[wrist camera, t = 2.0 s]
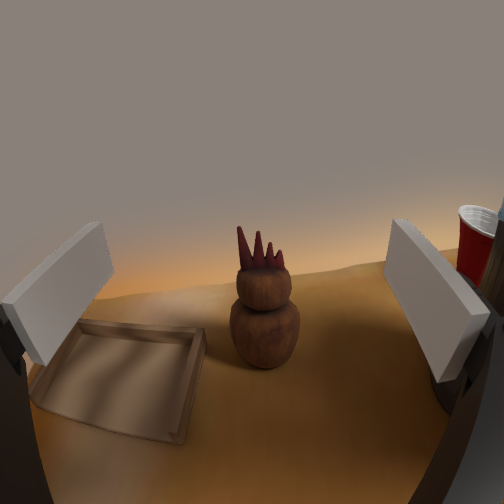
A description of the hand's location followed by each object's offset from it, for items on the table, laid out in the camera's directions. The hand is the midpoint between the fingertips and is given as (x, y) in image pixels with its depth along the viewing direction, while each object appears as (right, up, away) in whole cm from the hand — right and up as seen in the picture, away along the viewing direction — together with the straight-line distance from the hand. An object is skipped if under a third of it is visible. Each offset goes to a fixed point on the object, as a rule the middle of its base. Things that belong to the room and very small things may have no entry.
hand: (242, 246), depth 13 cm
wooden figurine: (+2, -12, +18) cm, 22 cm away
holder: (-14, -14, +15) cm, 25 cm away
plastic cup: (+35, -6, +26) cm, 44 cm away
